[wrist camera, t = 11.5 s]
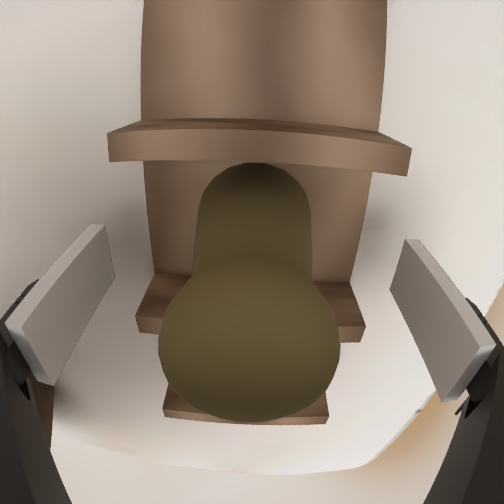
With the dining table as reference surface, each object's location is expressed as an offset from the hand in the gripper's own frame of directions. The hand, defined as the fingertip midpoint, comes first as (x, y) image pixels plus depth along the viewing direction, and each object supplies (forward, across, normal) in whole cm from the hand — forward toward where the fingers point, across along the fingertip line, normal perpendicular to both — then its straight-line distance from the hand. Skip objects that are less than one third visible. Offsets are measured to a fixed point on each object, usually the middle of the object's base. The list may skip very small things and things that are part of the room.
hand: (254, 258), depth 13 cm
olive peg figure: (+4, 0, 0) cm, 5 cm away
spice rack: (+5, 0, 0) cm, 5 cm away
